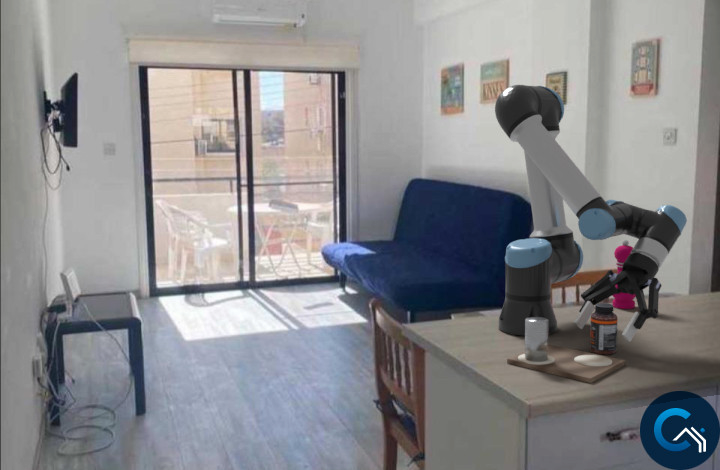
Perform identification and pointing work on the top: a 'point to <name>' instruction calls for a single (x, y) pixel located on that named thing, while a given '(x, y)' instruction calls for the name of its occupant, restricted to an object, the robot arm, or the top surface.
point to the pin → (536, 339)
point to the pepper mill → (621, 255)
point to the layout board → (571, 364)
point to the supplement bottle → (603, 330)
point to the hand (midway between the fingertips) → (601, 331)
